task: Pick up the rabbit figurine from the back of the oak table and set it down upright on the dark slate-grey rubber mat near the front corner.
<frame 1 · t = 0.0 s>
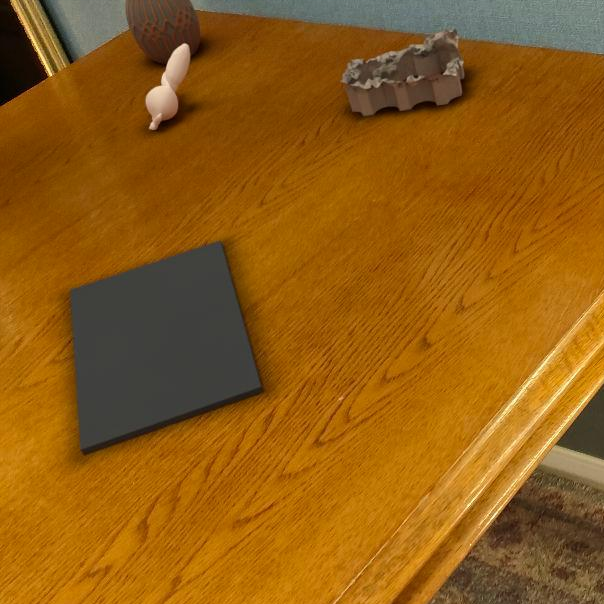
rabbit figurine: (182, 115, 97), on the table
mat: (162, 343, 71), on the table
vase: (178, 58, 106), on the table
egg carton: (410, 98, 92), on the table
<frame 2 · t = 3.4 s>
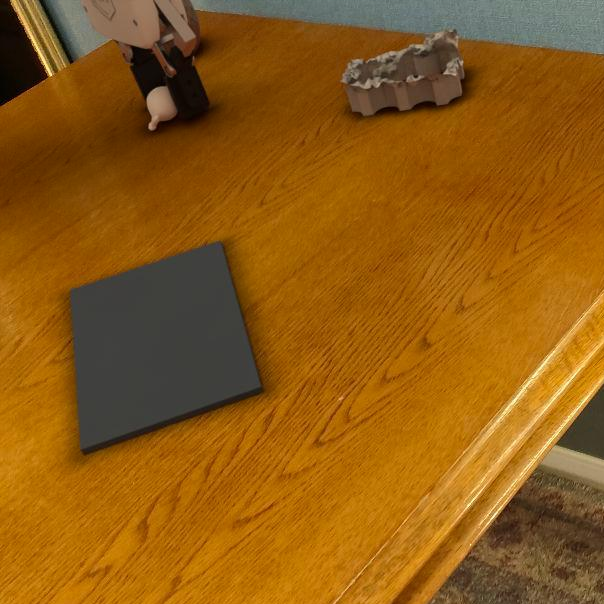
hand: (178, 104, 96), 1 cm above the table, tool pointing down, fingers closed on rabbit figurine, 4 cm apart
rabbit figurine: (185, 116, 97), on the table, touching gripper
everything else where it was.
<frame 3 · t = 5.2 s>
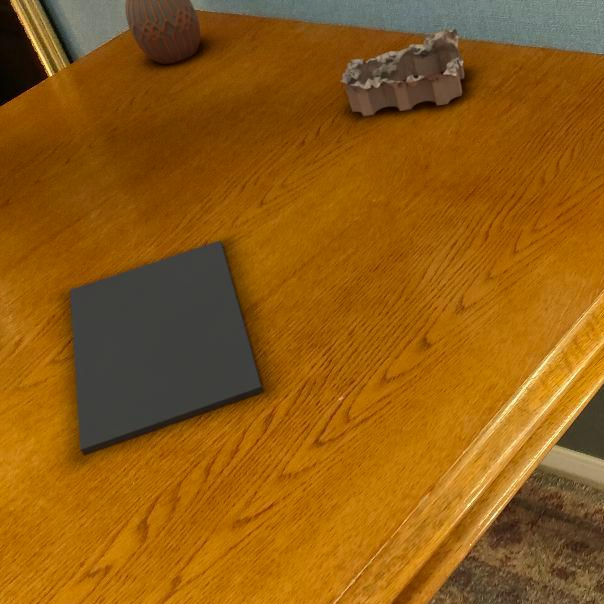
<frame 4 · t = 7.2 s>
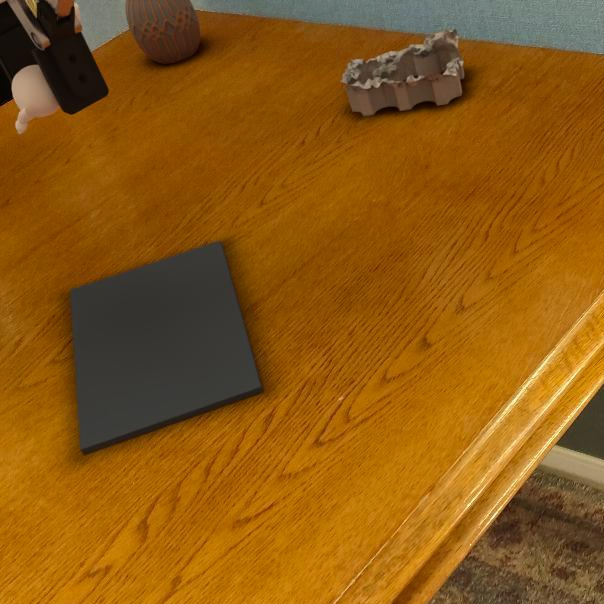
hand: (63, 93, 64), 15 cm above the table, tool pointing down, fingers closed on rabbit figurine, 4 cm apart
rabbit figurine: (75, 110, 65), point 14 cm above the table, touching gripper
everything else where it was.
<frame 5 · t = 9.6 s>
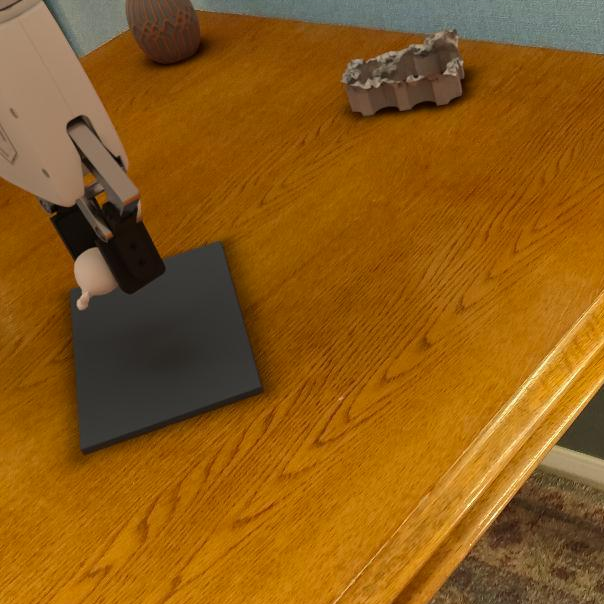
hand: (121, 268, 67), 6 cm above the table, tool pointing down, fingers closed on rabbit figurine, 4 cm apart
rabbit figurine: (133, 283, 67), point 5 cm above the table, touching gripper
everything else where it was.
when the fingers open (2 cm above the table, at t = 11.1 s): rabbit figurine stays where it is, resting on mat.
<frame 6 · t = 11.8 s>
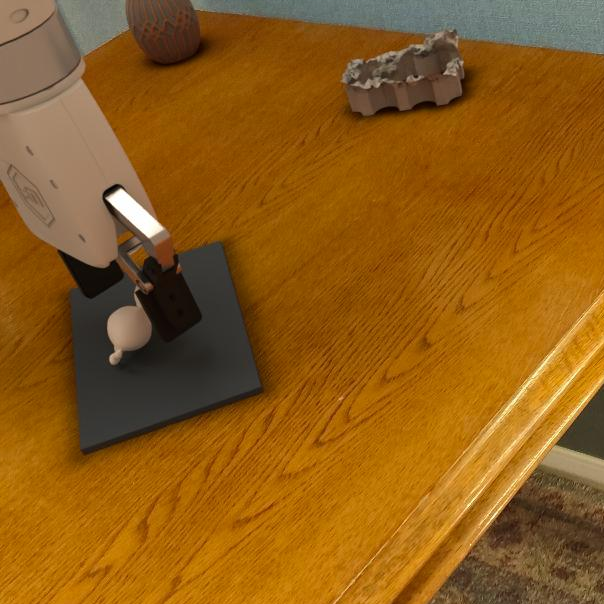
hand: (142, 308, 69), 3 cm above the table, tool pointing down, fingers open, 9 cm apart
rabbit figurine: (161, 337, 71), point 1 cm above the table, touching mat
everything else where it was.
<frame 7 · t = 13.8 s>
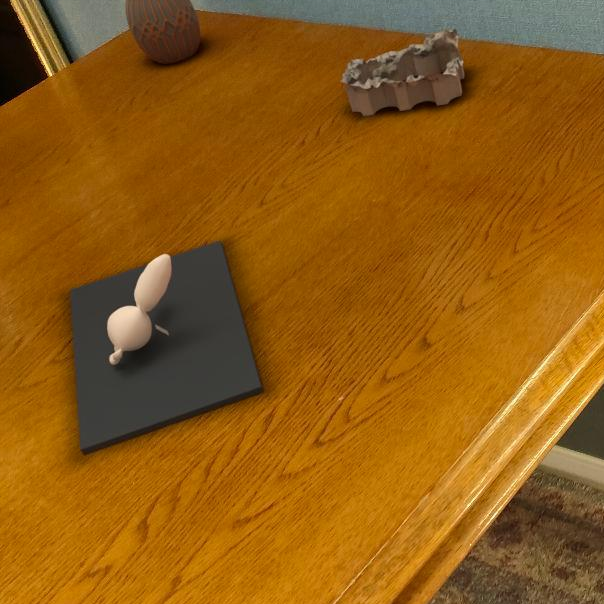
nothing on the table moved.
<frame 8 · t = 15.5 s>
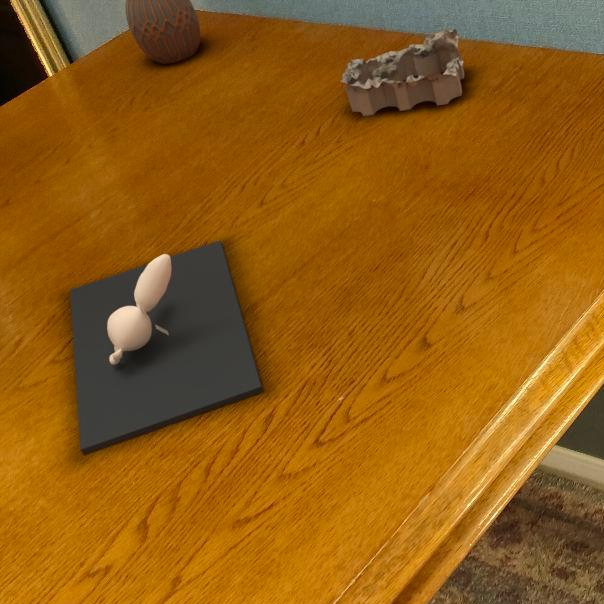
nothing on the table moved.
at the end: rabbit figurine inside the target area on the mat (0.4 cm from its centre), point 0.6 cm above the mat's base; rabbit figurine tilted 0°; the gripper is holding nothing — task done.
